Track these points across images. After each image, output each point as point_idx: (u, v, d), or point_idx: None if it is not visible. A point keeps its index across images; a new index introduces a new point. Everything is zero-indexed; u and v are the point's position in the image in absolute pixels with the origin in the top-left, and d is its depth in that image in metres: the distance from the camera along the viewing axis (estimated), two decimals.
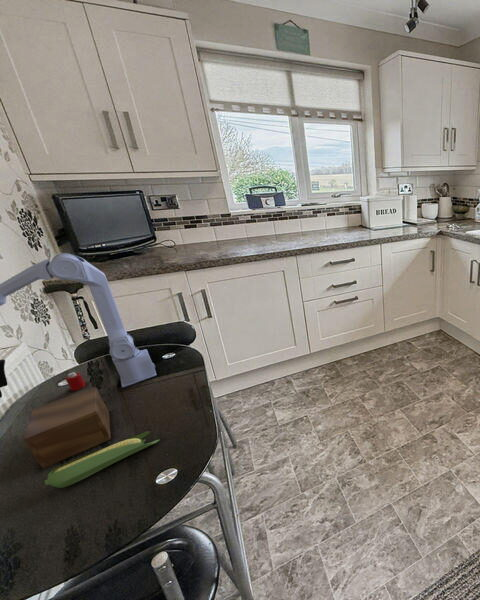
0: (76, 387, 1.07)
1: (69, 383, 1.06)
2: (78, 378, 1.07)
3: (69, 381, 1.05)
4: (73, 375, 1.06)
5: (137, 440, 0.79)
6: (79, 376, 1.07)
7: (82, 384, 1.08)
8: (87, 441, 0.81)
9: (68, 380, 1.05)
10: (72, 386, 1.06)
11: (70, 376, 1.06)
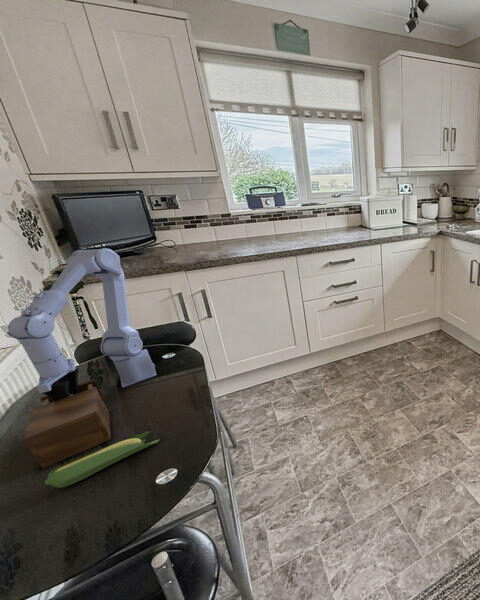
0: None
1: None
2: None
3: None
4: None
5: (137, 440, 0.79)
6: None
7: None
8: (87, 441, 0.81)
9: None
10: None
11: None
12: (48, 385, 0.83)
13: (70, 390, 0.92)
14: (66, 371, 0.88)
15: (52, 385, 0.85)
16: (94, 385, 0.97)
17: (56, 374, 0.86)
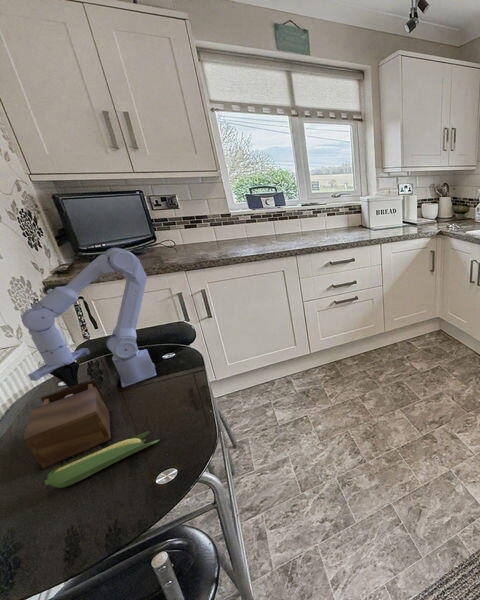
0: None
1: None
2: None
3: None
4: None
5: (137, 440, 0.79)
6: None
7: None
8: (87, 441, 0.81)
9: None
10: None
11: None
12: (36, 375, 0.90)
13: None
14: (63, 363, 0.94)
15: (46, 374, 0.92)
16: (94, 385, 0.97)
17: (53, 364, 0.93)
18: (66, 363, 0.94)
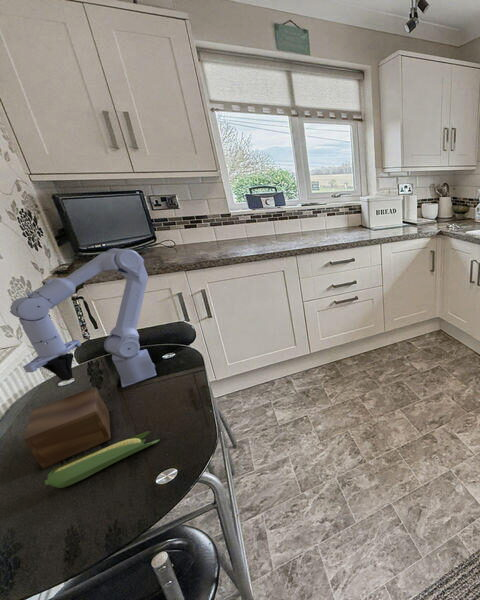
0: None
1: None
2: None
3: None
4: None
5: (137, 440, 0.79)
6: None
7: None
8: (87, 441, 0.81)
9: None
10: None
11: None
12: (33, 366, 0.86)
13: None
14: (59, 354, 0.91)
15: (41, 366, 0.89)
16: None
17: (48, 355, 0.90)
18: (62, 353, 0.92)
